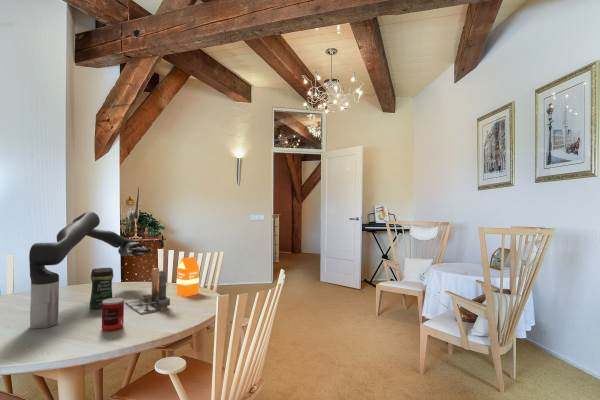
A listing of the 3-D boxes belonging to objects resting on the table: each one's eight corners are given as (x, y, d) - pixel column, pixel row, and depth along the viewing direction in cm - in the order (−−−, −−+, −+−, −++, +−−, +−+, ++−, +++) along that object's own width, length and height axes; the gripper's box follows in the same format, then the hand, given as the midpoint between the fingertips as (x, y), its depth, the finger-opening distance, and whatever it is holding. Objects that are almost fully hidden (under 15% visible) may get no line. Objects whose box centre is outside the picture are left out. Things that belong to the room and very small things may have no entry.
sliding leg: (162, 302, 169) (162, 268, 170) (140, 306, 162) (140, 271, 163) (158, 300, 173) (159, 267, 173) (137, 303, 166) (137, 269, 166)
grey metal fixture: (169, 308, 162) (170, 271, 163) (140, 314, 153) (141, 274, 154) (151, 298, 181) (151, 264, 181) (124, 302, 172) (124, 267, 172)
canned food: (118, 323, 142) (118, 296, 142) (127, 327, 137) (127, 300, 137) (98, 328, 136) (98, 300, 136) (106, 333, 131) (107, 304, 131)
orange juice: (198, 293, 192) (199, 257, 192) (185, 296, 185) (186, 259, 185) (189, 291, 196) (190, 256, 197) (176, 294, 189) (176, 257, 189)
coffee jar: (90, 310, 159) (91, 270, 160) (88, 306, 165) (89, 267, 166) (114, 307, 165) (115, 268, 166) (111, 303, 171) (112, 265, 172)
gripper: (123, 243, 189) (132, 245, 176) (148, 242, 198) (159, 243, 185) (122, 257, 189) (132, 259, 176) (147, 255, 198) (158, 257, 185)
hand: (146, 251), depth 181 cm, fingers closed
